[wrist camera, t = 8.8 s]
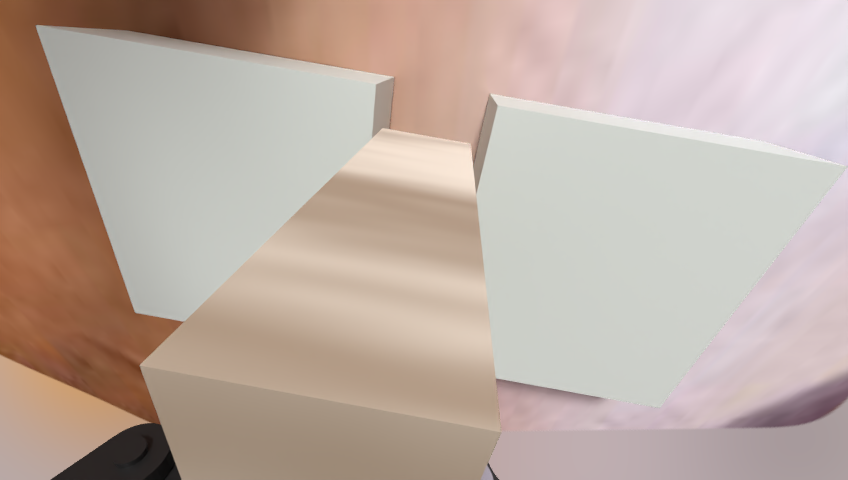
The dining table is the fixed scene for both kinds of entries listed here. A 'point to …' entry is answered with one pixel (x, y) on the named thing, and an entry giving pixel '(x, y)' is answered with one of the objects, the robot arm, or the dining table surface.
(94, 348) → the dining table surface
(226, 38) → the dining table surface
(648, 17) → the dining table surface
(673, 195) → the slotted board
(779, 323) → the dining table surface
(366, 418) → the beige metallic bar
